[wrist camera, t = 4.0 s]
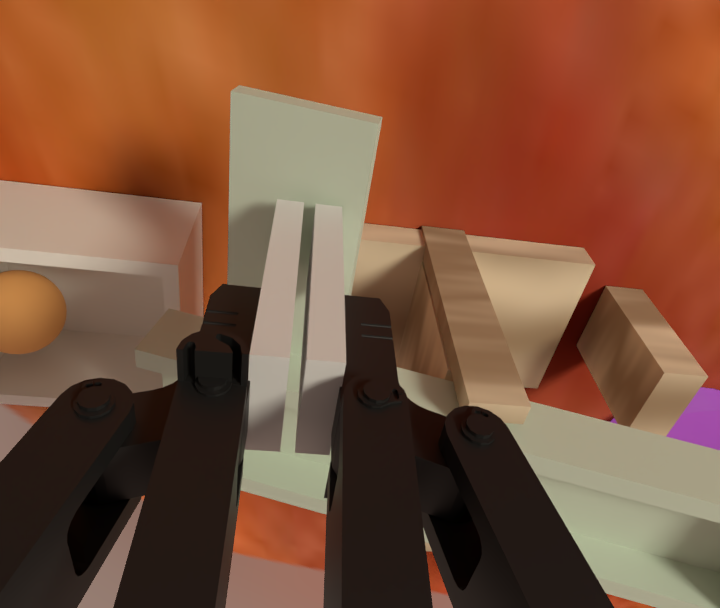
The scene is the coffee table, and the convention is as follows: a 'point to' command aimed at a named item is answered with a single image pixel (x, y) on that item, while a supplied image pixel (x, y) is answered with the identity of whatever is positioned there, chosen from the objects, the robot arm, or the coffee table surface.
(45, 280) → the ball
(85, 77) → the coffee table surface
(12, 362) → the dish
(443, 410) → the lever
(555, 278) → the stand
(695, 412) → the figurine
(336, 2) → the coffee table surface
